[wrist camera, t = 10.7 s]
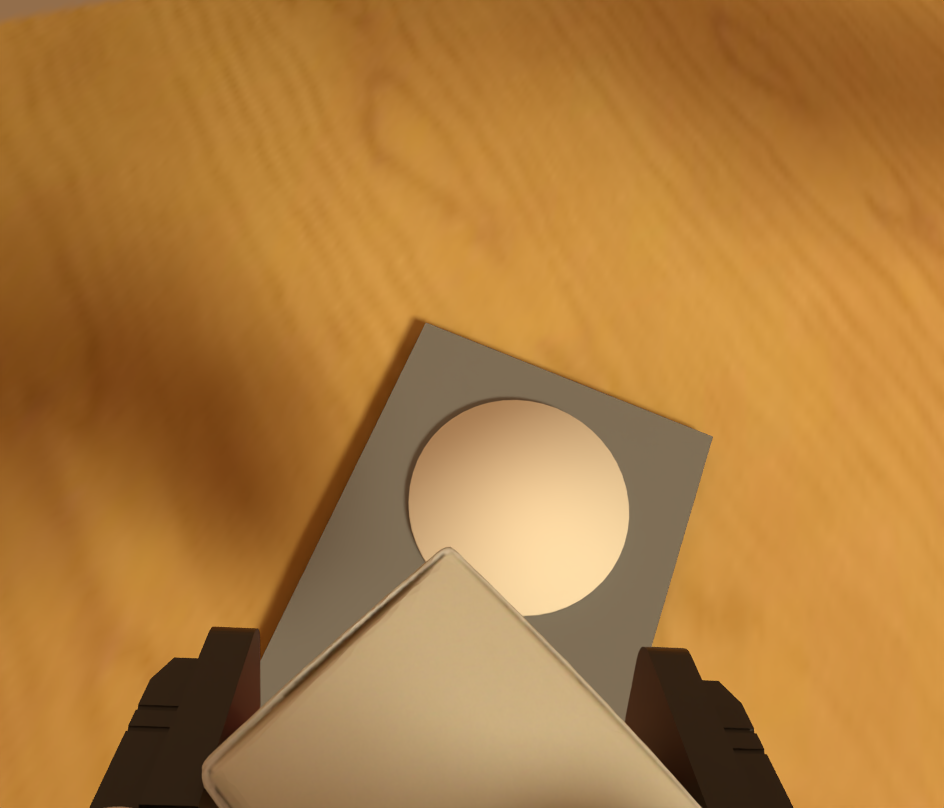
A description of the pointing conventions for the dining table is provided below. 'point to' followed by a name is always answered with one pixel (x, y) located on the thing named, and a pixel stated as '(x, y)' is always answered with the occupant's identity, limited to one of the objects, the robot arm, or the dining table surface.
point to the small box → (439, 717)
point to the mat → (506, 510)
